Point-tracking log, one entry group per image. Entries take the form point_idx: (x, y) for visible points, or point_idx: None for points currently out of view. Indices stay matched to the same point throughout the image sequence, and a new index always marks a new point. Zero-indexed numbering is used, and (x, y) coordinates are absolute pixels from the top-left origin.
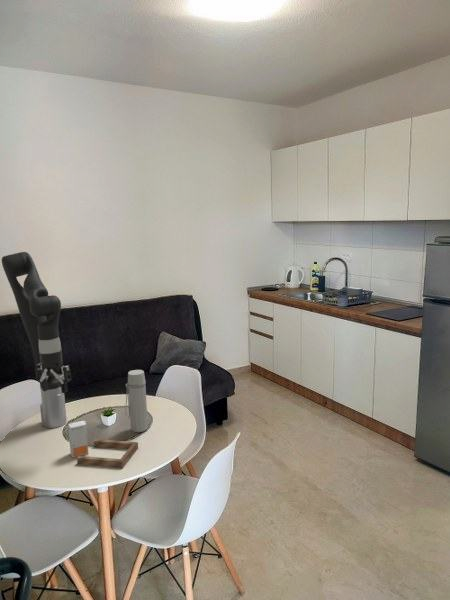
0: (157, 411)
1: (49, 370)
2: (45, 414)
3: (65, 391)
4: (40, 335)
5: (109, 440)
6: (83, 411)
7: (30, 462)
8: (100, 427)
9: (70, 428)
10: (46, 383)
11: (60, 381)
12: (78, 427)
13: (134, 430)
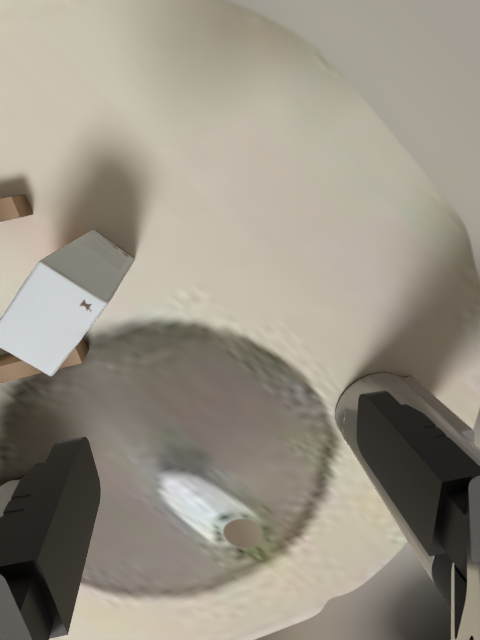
0: (78, 605)
1: None
2: (416, 404)
3: (37, 474)
4: None
5: (10, 377)
6: (336, 505)
7: (242, 127)
8: (186, 453)
9: (39, 261)
10: (406, 498)
11: (2, 622)
12: (14, 299)
13: (17, 483)
